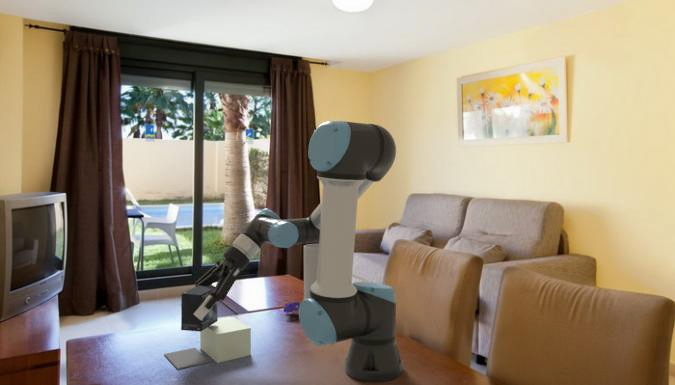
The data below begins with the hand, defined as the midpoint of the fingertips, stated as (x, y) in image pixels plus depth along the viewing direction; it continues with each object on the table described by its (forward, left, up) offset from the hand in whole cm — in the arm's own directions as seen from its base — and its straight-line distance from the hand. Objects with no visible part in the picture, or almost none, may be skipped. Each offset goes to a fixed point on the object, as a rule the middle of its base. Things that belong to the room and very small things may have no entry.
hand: (190, 312), depth 137 cm
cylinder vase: (+22, -58, -14) cm, 63 cm away
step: (0, -10, -13) cm, 17 cm away
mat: (+1, +1, -13) cm, 13 cm away
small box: (0, -3, -5) cm, 5 cm away
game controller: (+21, -46, -14) cm, 52 cm away
